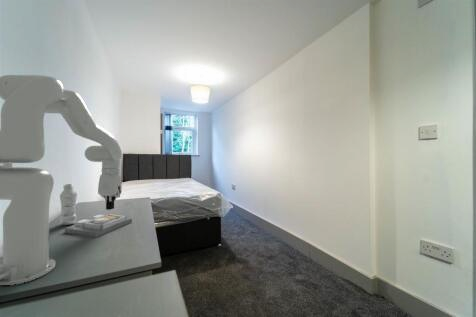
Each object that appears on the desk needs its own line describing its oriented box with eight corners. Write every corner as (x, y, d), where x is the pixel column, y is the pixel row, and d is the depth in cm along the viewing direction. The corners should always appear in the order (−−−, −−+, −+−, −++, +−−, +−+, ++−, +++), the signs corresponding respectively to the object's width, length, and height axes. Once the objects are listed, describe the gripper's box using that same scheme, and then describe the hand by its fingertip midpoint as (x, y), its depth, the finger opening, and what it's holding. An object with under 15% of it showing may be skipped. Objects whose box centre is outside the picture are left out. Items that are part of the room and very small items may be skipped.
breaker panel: (96, 237, 87) (96, 227, 87) (64, 232, 91) (64, 223, 91) (131, 222, 106) (131, 214, 106) (104, 218, 111) (104, 211, 110)
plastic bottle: (62, 223, 103) (62, 184, 102) (78, 221, 105) (78, 183, 105) (57, 227, 97) (57, 185, 96) (74, 225, 100) (74, 185, 99)
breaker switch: (102, 223, 93) (102, 220, 93) (93, 222, 95) (94, 219, 95) (116, 219, 101) (117, 216, 101) (108, 218, 102) (108, 215, 102)
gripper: (91, 171, 98) (90, 209, 98) (117, 173, 94) (116, 212, 94) (105, 171, 105) (104, 206, 105) (129, 172, 102) (128, 208, 102)
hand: (110, 209), depth 100 cm, fingers closed
